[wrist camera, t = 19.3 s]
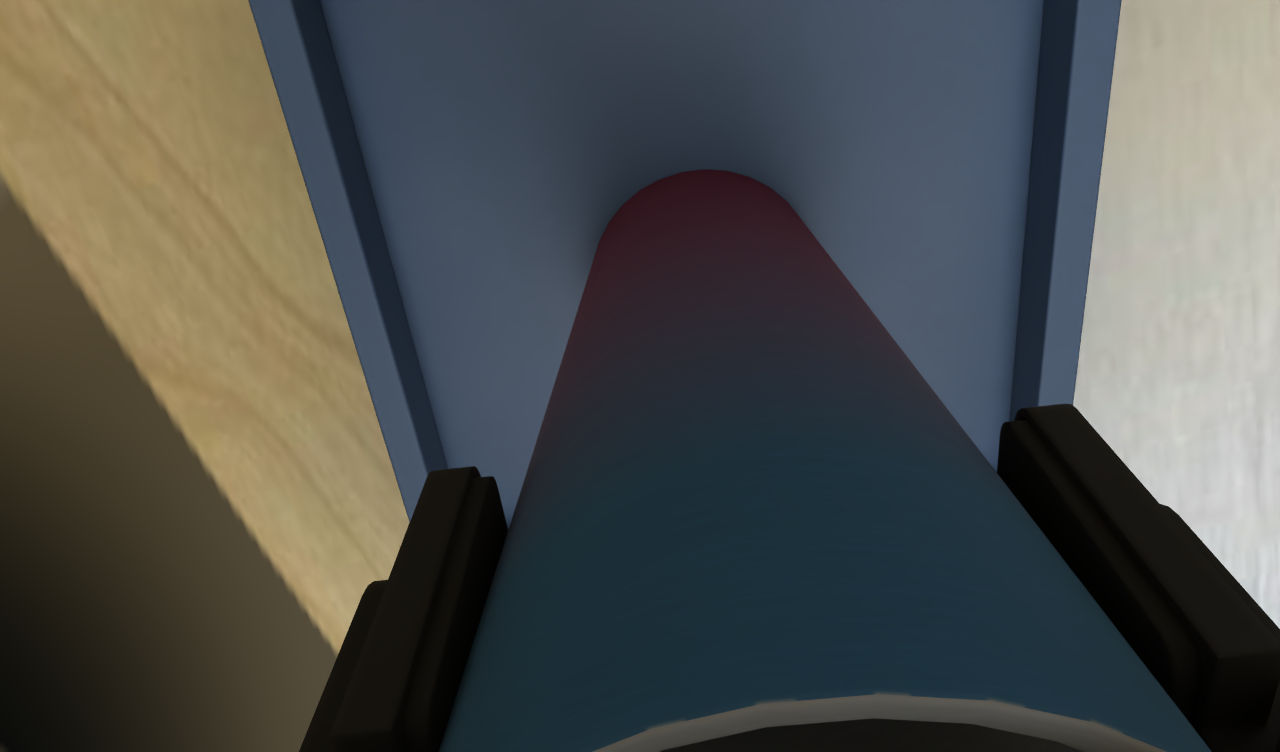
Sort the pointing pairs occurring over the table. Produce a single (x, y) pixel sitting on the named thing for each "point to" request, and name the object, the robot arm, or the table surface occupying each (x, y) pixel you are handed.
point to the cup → (774, 530)
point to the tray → (678, 142)
